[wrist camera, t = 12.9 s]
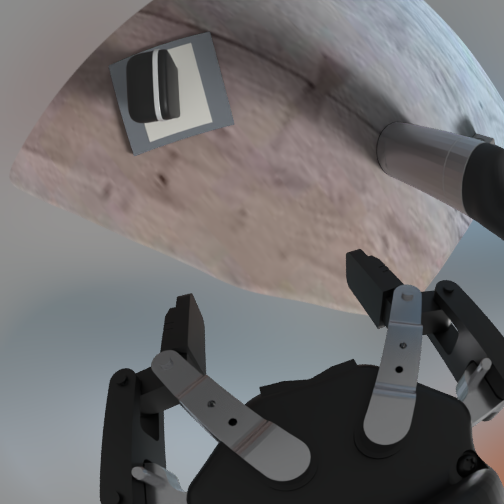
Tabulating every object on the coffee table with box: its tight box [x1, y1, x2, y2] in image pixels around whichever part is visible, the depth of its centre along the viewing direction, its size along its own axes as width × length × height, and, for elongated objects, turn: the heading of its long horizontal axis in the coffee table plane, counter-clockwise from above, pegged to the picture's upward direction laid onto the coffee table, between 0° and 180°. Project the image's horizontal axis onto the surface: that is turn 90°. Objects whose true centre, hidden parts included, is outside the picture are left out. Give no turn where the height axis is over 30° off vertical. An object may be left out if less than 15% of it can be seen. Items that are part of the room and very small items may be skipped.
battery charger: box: [126, 49, 180, 123], centre depth 22 cm, size 7×4×11 cm, turn 0°
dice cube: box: [472, 134, 495, 145], centre depth 36 cm, size 5×5×5 cm
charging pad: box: [109, 32, 234, 156], centre depth 28 cm, size 13×13×1 cm
